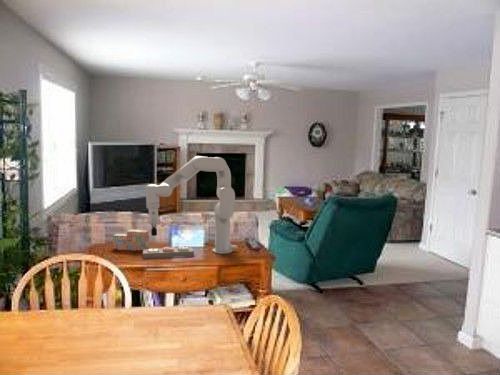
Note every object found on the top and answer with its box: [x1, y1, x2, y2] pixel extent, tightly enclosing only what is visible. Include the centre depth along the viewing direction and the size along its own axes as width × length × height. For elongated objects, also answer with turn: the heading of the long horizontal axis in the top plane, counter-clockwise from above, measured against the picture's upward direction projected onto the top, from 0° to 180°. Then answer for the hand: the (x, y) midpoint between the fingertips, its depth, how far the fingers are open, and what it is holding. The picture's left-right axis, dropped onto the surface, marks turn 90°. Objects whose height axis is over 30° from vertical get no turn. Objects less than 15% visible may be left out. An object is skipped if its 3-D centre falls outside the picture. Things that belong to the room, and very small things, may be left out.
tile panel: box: [142, 246, 195, 259], centre depth 270 cm, size 30×10×3 cm, turn 103°
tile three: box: [162, 246, 174, 252], centre depth 270 cm, size 6×6×3 cm
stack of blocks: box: [112, 228, 150, 252], centre depth 283 cm, size 21×6×12 cm, turn 84°
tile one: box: [148, 248, 159, 253], centre depth 268 cm, size 6×6×3 cm
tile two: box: [177, 245, 188, 251], centre depth 272 cm, size 6×6×3 cm
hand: (154, 235), depth 267 cm, fingers closed
